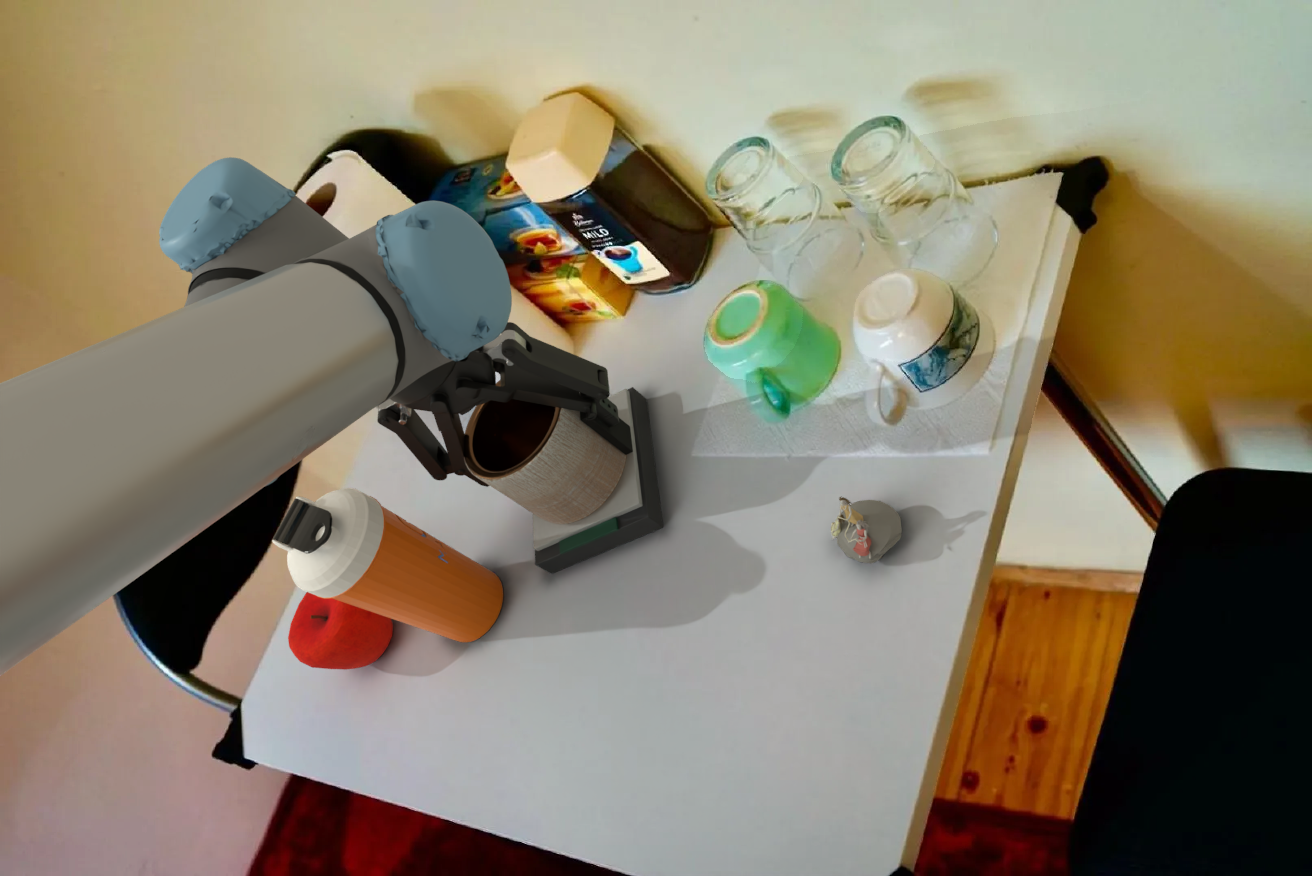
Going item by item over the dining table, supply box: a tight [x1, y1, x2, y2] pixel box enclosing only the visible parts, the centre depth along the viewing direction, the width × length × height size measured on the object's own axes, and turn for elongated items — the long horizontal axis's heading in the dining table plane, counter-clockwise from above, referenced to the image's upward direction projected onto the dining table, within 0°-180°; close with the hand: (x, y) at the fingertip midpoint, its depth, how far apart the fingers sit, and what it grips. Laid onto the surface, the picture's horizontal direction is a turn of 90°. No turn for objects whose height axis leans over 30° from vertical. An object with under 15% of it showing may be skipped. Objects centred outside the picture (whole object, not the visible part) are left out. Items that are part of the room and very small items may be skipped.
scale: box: [532, 386, 664, 575], centre depth 81 cm, size 14×12×3 cm
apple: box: [287, 591, 394, 671], centre depth 87 cm, size 9×9×8 cm
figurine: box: [830, 495, 903, 564], centre depth 62 cm, size 5×4×6 cm
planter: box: [464, 379, 627, 524], centre depth 77 cm, size 11×11×10 cm
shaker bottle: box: [271, 487, 504, 643], centre depth 77 cm, size 9×9×20 cm
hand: (574, 466), depth 79 cm, fingers closed on planter, 11 cm apart
